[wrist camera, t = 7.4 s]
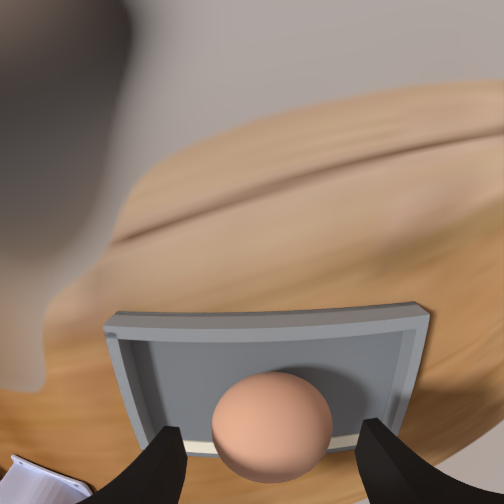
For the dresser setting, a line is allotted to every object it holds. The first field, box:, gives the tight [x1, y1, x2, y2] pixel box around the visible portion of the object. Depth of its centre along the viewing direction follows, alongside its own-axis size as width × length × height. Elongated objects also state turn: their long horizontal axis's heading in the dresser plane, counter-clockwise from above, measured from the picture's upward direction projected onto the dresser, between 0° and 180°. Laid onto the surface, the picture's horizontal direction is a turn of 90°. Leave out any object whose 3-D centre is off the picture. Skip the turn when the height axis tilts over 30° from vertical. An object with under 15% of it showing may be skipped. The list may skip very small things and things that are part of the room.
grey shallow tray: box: [103, 302, 430, 458], centre depth 13 cm, size 14×9×2 cm
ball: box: [211, 372, 333, 483], centre depth 11 cm, size 5×5×5 cm
